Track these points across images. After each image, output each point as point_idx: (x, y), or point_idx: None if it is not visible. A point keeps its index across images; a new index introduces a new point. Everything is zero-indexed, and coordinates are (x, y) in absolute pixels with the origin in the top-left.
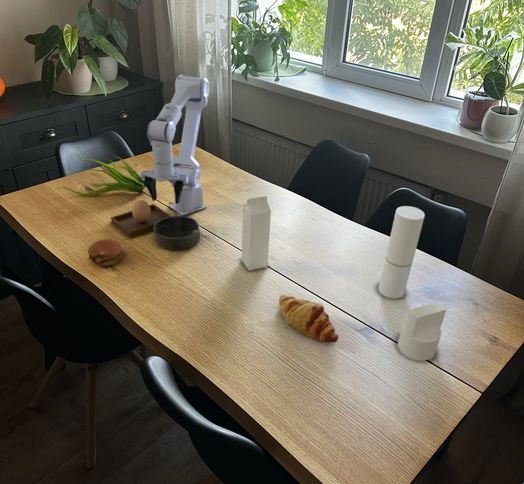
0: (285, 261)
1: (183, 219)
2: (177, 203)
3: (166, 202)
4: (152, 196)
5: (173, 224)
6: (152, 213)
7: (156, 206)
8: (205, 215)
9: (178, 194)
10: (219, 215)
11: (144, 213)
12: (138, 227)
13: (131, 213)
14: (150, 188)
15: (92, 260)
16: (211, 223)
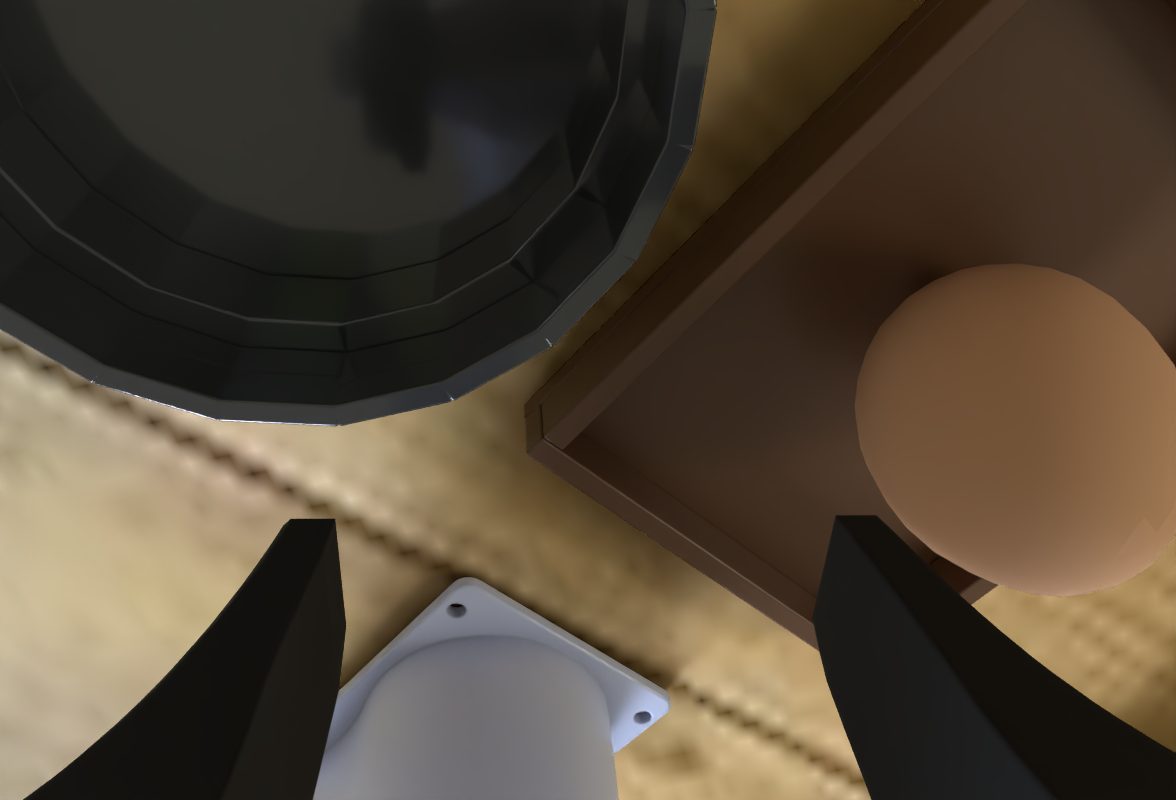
0: None
1: (298, 377)
2: (289, 521)
3: (734, 760)
4: (909, 576)
5: (455, 282)
6: None
7: None
8: (194, 637)
9: (151, 695)
10: (28, 671)
11: (961, 340)
12: (983, 163)
13: None
14: (1041, 742)
15: None
16: (24, 499)
